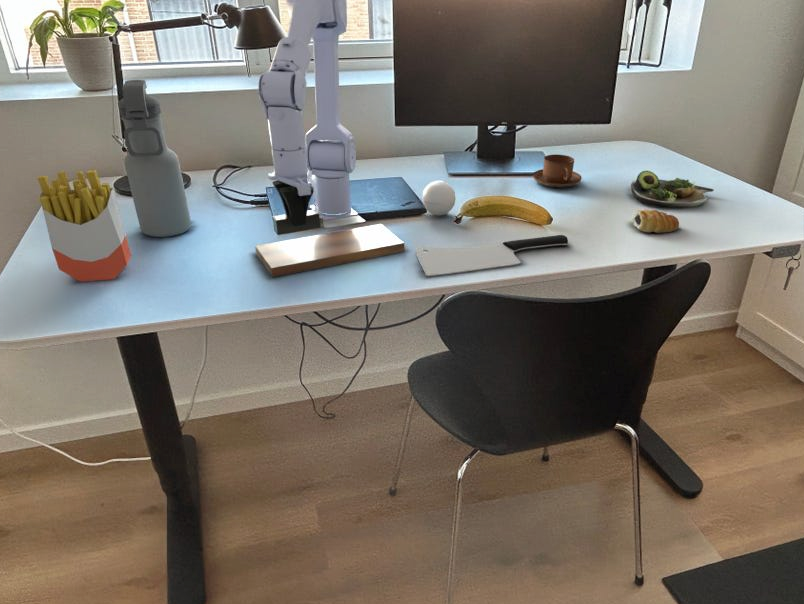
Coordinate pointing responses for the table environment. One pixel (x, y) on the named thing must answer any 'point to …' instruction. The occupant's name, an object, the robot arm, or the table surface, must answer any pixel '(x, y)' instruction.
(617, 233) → the table surface
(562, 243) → the kitchen cleaver
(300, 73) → the robot arm
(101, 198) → the french fries container
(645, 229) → the pastry
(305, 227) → the two-tone stepped block
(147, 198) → the water bottle
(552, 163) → the cup and saucer
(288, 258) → the cutting board
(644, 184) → the salad plate
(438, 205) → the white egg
